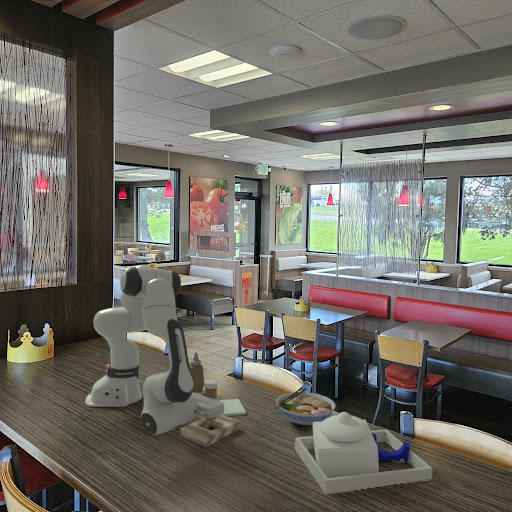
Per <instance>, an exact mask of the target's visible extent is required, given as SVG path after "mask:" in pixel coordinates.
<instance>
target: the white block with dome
mask: <svg viewBox="0 0 512 512" xmlns="http://www.w3.org/2000/svg"><path fill="white" fill-rule="evenodd" d="M371 431H372V430H371V429H370V427H369V425H368V423H367V420H366V419H362V418H360V417H357V416H354V415H351V414H350V413H348V412H346V411H342V412H340V413H338V414H337V415H330V417H329V418H326V419H325V420H324V421H322V422H313V425H312V436H313V441H314V449H313V450H314V457H315V461H316V463H317V464H318V465H319V467H320V468H321V469H322V471H323V472H324V474H325V475H326V476H327V478H334V477H343V476H352V475H360V474H369V473H378V472H379V471H380V469H379V466H380V465H379V460H378V448H377V444H378V443H377V444H376V442H375V440H374V438H373V436H372V433H371Z"/></svg>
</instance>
